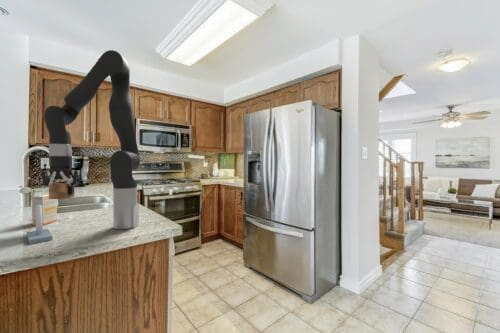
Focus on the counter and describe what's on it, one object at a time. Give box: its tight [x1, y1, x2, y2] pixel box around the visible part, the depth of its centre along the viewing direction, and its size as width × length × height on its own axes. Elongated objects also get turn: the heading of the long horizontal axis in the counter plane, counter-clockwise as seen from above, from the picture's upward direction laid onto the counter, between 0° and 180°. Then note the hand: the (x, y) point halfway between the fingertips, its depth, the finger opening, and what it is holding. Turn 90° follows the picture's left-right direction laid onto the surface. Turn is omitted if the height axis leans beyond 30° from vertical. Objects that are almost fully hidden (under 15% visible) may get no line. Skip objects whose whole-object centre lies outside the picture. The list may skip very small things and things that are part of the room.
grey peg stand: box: [26, 205, 53, 245], centre depth 84 cm, size 12×6×12 cm, turn 47°
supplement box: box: [31, 192, 58, 227], centre depth 104 cm, size 8×5×13 cm, turn 5°
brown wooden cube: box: [48, 182, 75, 200], centre depth 96 cm, size 6×6×6 cm
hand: (62, 195), depth 96 cm, fingers closed on brown wooden cube, 6 cm apart
